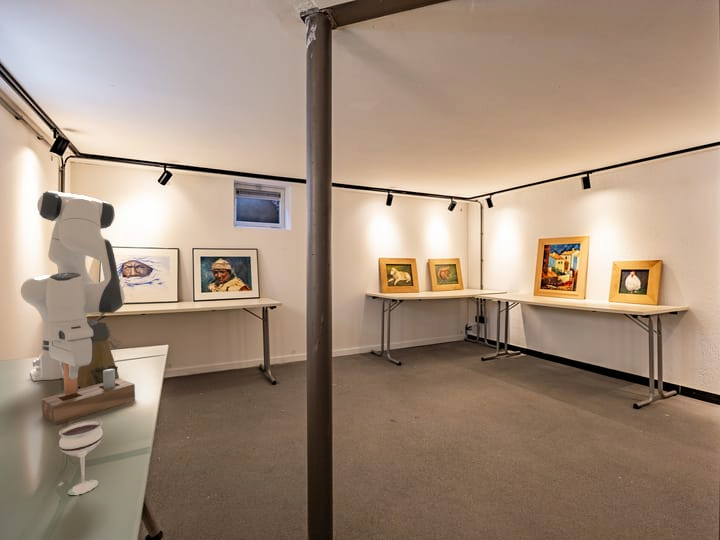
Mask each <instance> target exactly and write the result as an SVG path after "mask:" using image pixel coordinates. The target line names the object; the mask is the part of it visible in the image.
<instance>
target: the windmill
mask: <svg viewBox="0 0 720 540" xmlns="http://www.w3.org/2000/svg"><path fill="white" fill-rule="evenodd" d="M94 314H95V315H94ZM105 314H106V313H92V315H91V316H90V317H89V318H90V320H89V319H88V320H87V323H88V325H89V326H90V327H91V328H92V329H93V336H92V337H90V338H91V341H92V359H91V362H90V364H89V365H85V366H81V367H79V370H78V377H77V385H78V387H80V388H79V389H82V388H85V387H89V386H93V382H92V377H91V370H92V369H94V370H95V369H96V367H99V368H101V367H102V366H103V367H104V368H108V366H109V365H111V366H113V365H115V366H117V365H116V362H115V359H114V356H113V352H112V350H111V347H110V346H112V347H113V348H114V349H117V348H118V347H119V345H120V344H122V342H120V341H119V342H117V340H116V338H115V337H114V336H112V335H111V330H110V328H109V327H108V324H107V323H106V322H101V321H99V320H100V319H101V318H102V317H103V315H105ZM109 338H110V339H109ZM119 378H120V375H119V372H118V371H117V378H116V379H119Z"/></svg>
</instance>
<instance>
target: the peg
mask: <svg viewBox="0 0 720 540" xmlns="http://www.w3.org/2000/svg"><path fill="white" fill-rule="evenodd" d="M69 369H70V368H69V364H66V363H63V375H64V378H63V390H64V391H63V392H64V394H66V395H68V394H73V393H76V392H78V389H79V388H78V385H77V378H75V379H70V378H68V372H69Z"/></svg>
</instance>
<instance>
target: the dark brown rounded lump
mask: <svg viewBox="0 0 720 540" xmlns="http://www.w3.org/2000/svg"><path fill="white" fill-rule="evenodd" d="M115 365H116V364H115ZM115 365H113V366H111V365H109V366H108V368H104V367H103V366H102V367H101V368H99V367H96V369H95V370H94V369H92V370H91V377H92V382H93V385H97V384H101V383H103V371H104V370H107V369H115V380H116V378H117V372H118V365H116V366H115Z"/></svg>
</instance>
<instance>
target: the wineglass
mask: <svg viewBox="0 0 720 540" xmlns="http://www.w3.org/2000/svg"><path fill="white" fill-rule="evenodd" d="M102 424H103V422H102V421H101V420H99V419H89V420H88V419H87V420H86V419H85V420H82V421H78V422H77V421H76V422H75V423H70V425H66V426H65V427H63V428H62V429H60V430H59V431H58V435H59V436H60V438H59V441H58V445H59V448H58V449H60V451H61V452H62V453H63V454H65V455H67V456H70V457H77V458H79V464H80V473H81V482H82V483H80V482H78V483H79V484H78V483H76V484H77V485H76V484H75V486H74V485H73V486H74V487H73V486H72V487H73V490H72V491H73V492H75V493H79V492H84V491H86V490H88V489H90V488H91V487H93V486H94V484H95V483H94V482H93V481H87V480H85V479H86V477H85V476H86V475H85V473H86V472H85V470H86V469H85V468H86V467H85V466H86V458H85V457H86V456H87V455H88V453H90V452H91V451H94V449H95V448H96V447H97V446H98V445H99V444H100V443H101V442H102V439H103V435H104V431H103V429H102V427H101V426H102Z"/></svg>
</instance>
